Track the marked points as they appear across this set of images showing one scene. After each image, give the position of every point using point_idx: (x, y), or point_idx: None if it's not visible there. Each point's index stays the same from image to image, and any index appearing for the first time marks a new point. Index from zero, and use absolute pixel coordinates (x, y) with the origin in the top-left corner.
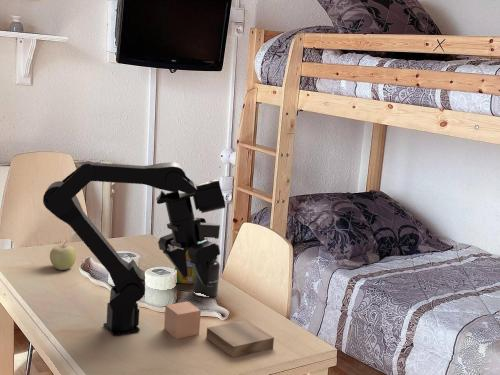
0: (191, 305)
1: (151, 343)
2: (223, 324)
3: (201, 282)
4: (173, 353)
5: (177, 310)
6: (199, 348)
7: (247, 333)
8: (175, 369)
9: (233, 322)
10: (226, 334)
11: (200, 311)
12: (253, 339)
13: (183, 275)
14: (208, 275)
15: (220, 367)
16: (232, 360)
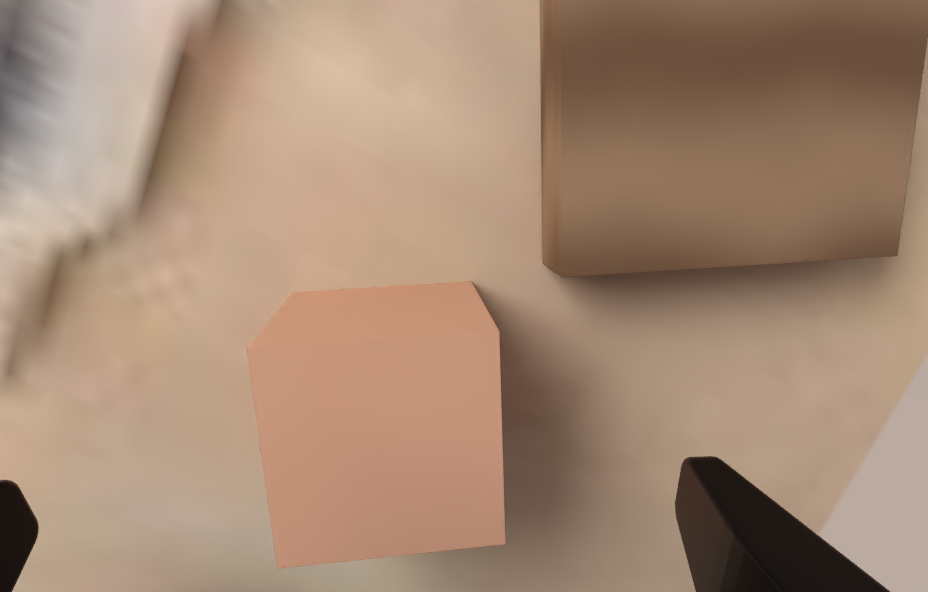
0: (358, 360)
1: (478, 583)
2: (563, 125)
3: (694, 577)
4: (637, 520)
5: (427, 519)
6: (650, 368)
7: (785, 31)
8: None
9: (561, 16)
10: (723, 200)
11: (496, 329)
12: (889, 52)
13: (17, 563)
14: (870, 585)
15: (888, 364)
16: (863, 263)
